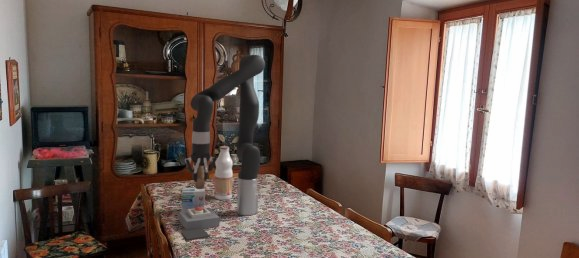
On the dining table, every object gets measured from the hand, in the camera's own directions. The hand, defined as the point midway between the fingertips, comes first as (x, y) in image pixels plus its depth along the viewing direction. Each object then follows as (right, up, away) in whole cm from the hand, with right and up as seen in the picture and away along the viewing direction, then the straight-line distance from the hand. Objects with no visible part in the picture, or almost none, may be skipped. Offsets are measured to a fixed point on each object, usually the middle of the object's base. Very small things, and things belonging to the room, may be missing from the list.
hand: (200, 180), depth 164 cm
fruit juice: (+3, -15, +41) cm, 44 cm away
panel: (-1, -19, +2) cm, 19 cm away
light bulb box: (-7, -17, +17) cm, 25 cm away
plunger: (-1, -16, +2) cm, 17 cm away
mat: (+1, -20, -11) cm, 23 cm away
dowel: (0, -3, 0) cm, 3 cm away
